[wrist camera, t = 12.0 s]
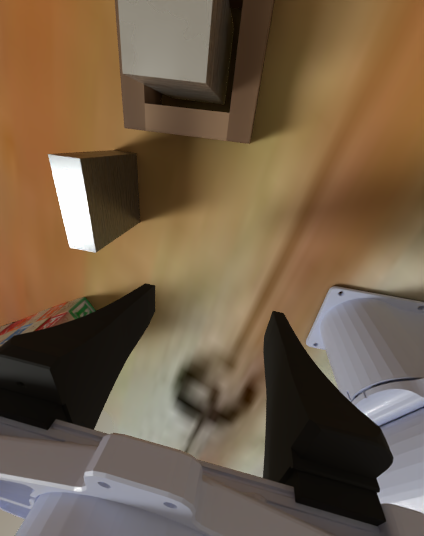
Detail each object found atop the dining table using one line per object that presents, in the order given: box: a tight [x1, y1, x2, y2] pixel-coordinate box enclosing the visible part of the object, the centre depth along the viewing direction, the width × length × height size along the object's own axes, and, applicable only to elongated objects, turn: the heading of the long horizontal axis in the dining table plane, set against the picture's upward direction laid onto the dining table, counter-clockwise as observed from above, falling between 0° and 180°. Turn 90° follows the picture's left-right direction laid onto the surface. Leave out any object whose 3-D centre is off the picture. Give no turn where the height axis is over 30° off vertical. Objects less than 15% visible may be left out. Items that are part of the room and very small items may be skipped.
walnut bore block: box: [115, 0, 275, 144], centre depth 14 cm, size 8×8×3 cm
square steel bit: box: [118, 0, 234, 105], centre depth 12 cm, size 4×4×7 cm
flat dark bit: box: [48, 150, 140, 252], centre depth 17 cm, size 2×6×7 cm, turn 174°
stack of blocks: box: [0, 297, 96, 346], centre depth 28 cm, size 21×6×12 cm, turn 116°
